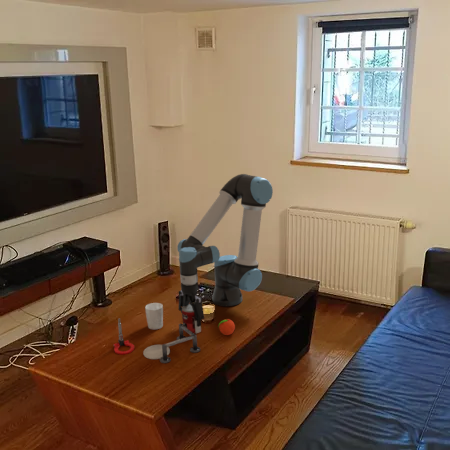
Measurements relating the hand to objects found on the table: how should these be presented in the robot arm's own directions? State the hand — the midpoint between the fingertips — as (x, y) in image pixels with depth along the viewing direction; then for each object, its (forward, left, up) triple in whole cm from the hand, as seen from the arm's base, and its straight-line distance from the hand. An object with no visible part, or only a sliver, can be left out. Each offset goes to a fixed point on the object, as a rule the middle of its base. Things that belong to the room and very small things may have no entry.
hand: (192, 329), depth 248 cm
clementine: (-10, +13, -1) cm, 16 cm away
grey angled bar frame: (+15, +11, 0) cm, 19 cm away
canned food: (0, 0, -1) cm, 1 cm away
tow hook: (+32, -2, -1) cm, 32 cm away
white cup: (+12, -13, -1) cm, 18 cm away
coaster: (+22, +9, 0) cm, 24 cm away
